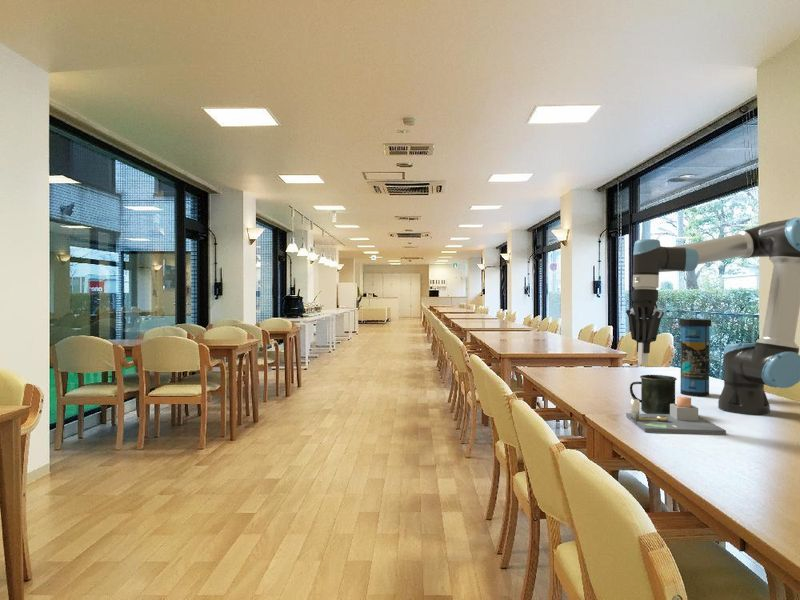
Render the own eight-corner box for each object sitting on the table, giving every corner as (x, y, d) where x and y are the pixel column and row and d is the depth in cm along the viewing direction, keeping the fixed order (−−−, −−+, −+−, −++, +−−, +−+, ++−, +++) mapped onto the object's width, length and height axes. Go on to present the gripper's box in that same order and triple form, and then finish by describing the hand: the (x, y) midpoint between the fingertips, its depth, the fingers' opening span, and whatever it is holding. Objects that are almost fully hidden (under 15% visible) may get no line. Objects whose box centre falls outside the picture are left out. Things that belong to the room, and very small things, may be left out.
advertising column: (672, 392, 222) (672, 318, 222) (694, 391, 226) (694, 318, 225) (694, 397, 212) (695, 320, 211) (717, 395, 215) (718, 319, 215)
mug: (675, 417, 178) (675, 380, 178) (627, 412, 186) (627, 377, 185) (677, 411, 188) (677, 376, 187) (631, 406, 195) (631, 373, 195)
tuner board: (697, 418, 176) (697, 403, 176) (726, 434, 156) (726, 417, 156) (626, 416, 179) (626, 401, 179) (645, 432, 159) (645, 415, 159)
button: (688, 412, 174) (688, 396, 174) (693, 415, 170) (693, 399, 170) (674, 412, 174) (674, 396, 174) (679, 415, 170) (679, 398, 170)
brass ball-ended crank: (666, 418, 170) (666, 399, 170) (669, 421, 166) (669, 401, 166) (629, 417, 171) (629, 398, 171) (632, 420, 168) (632, 400, 168)
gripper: (620, 288, 177) (618, 361, 178) (653, 288, 165) (650, 366, 166) (637, 289, 180) (635, 360, 181) (671, 289, 168) (668, 365, 169)
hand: (642, 363), depth 173 cm, fingers closed
